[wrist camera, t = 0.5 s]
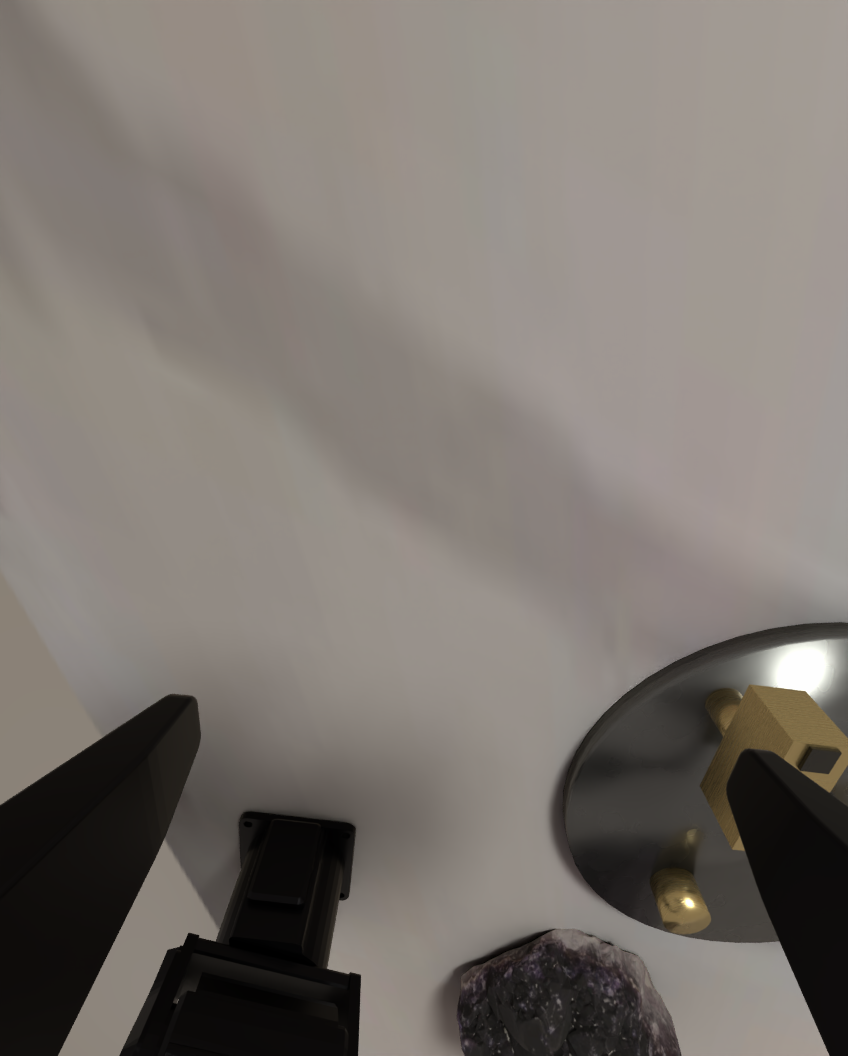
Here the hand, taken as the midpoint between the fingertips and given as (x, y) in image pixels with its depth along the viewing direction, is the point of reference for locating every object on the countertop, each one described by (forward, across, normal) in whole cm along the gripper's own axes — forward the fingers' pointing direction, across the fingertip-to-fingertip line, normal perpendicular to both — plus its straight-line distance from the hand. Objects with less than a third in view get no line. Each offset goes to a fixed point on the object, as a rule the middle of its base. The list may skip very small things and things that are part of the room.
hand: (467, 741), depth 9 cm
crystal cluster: (+14, -11, +36) cm, 40 cm away
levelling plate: (+14, -19, +16) cm, 28 cm away
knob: (+12, -13, +9) cm, 20 cm away
